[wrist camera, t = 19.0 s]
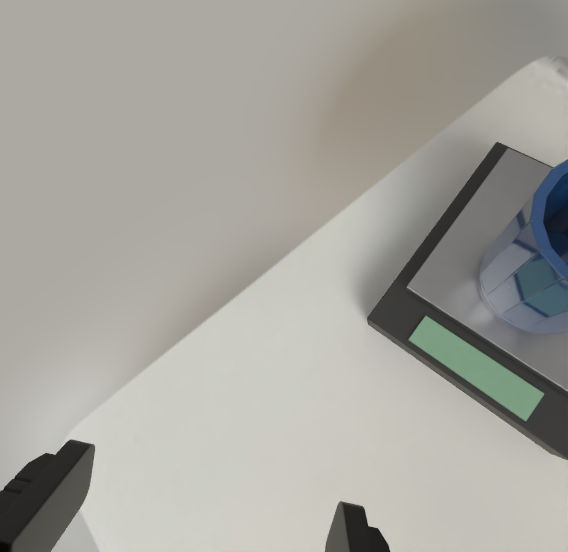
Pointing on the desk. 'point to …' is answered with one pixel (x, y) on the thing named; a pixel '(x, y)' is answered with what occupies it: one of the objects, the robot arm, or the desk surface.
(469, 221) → the scale pan
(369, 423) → the desk surface
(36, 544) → the robot arm
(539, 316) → the cup
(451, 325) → the scale
